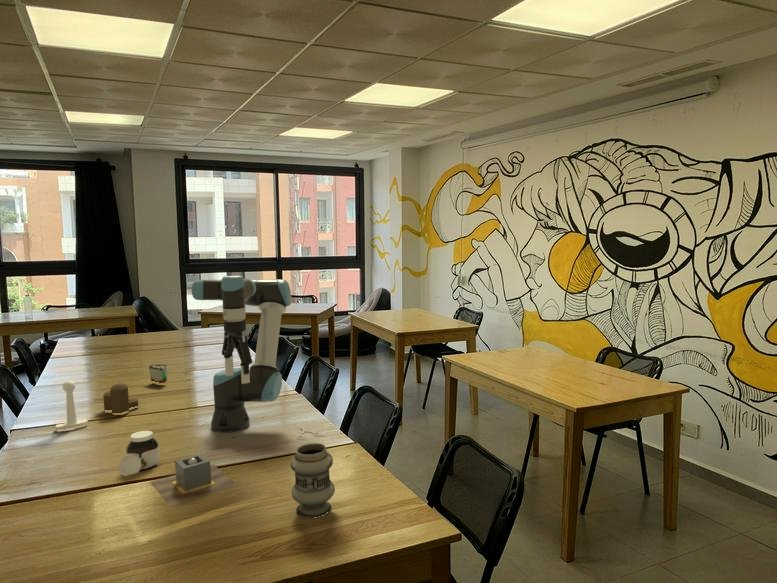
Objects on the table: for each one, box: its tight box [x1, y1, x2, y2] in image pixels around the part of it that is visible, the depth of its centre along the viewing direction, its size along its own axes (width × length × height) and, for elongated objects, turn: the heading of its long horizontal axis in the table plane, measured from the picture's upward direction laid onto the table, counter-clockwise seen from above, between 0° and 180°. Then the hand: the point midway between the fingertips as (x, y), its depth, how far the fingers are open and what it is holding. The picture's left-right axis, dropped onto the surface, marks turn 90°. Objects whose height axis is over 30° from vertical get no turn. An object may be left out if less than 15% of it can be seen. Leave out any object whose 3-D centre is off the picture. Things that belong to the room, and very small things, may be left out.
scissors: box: [296, 428, 326, 441], centre depth 215 cm, size 11×1×20 cm
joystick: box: [55, 380, 89, 431], centre depth 223 cm, size 11×8×20 cm
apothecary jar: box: [289, 442, 336, 519], centre depth 152 cm, size 12×12×18 cm
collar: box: [174, 453, 211, 491], centre depth 167 cm, size 8×8×7 cm
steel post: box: [187, 458, 198, 466], centre depth 167 cm, size 3×3×8 cm
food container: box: [148, 363, 169, 383], centre depth 288 cm, size 12×6×10 cm, turn 58°
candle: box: [103, 380, 139, 414], centre depth 243 cm, size 14×14×15 cm
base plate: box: [150, 463, 239, 507], centre depth 168 cm, size 20×20×2 cm
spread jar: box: [118, 430, 160, 477], centre depth 181 cm, size 12×11×12 cm
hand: (237, 379), depth 192 cm, fingers open, 13 cm apart
